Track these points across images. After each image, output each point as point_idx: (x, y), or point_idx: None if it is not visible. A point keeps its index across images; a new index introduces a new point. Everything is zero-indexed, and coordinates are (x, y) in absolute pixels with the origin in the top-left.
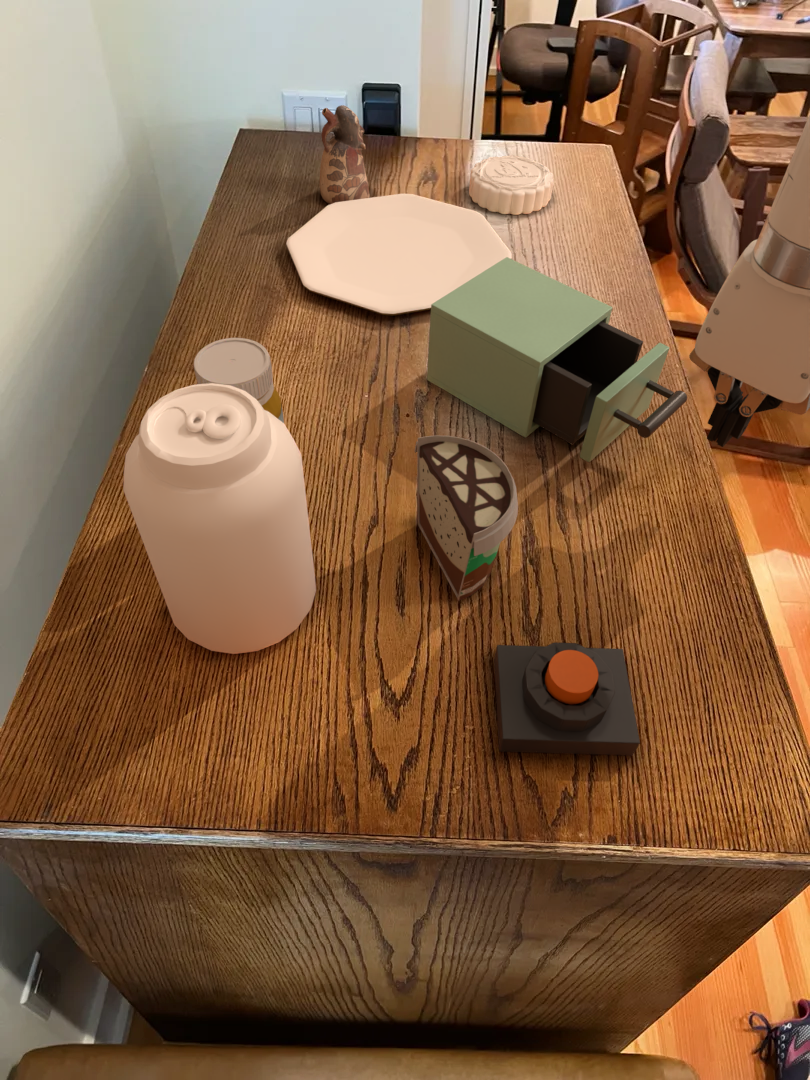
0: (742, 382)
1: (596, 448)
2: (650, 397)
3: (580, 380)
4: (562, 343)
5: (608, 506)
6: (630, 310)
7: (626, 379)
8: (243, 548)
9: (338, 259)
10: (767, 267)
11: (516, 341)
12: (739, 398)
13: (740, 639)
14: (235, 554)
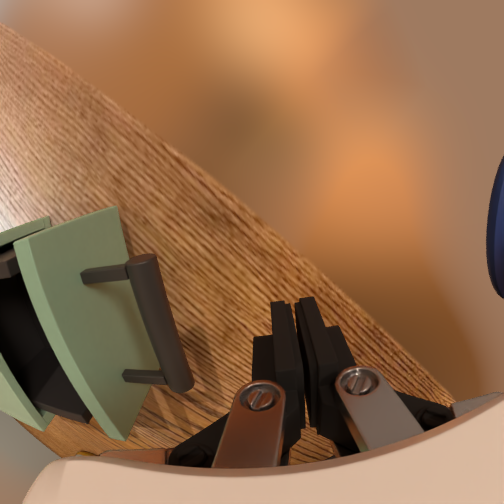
0: (283, 408)
1: (153, 364)
2: (104, 220)
3: (72, 416)
4: (10, 389)
5: (228, 377)
6: (12, 71)
7: (84, 390)
8: None
9: None
10: None
11: (10, 410)
12: (301, 388)
13: (412, 386)
14: None
